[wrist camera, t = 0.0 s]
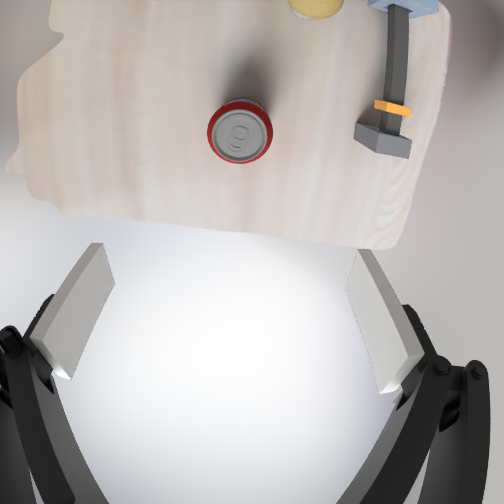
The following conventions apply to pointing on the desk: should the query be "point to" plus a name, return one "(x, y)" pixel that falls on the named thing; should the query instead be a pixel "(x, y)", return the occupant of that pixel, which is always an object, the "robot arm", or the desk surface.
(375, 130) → the rail
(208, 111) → the desk surface
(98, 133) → the desk surface
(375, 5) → the sleeve
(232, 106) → the beverage can
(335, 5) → the light bulb
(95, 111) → the desk surface
